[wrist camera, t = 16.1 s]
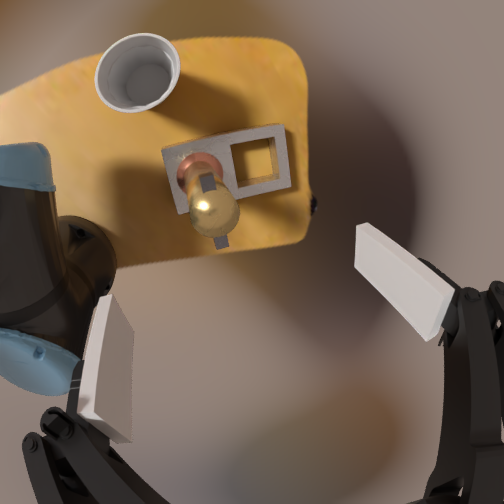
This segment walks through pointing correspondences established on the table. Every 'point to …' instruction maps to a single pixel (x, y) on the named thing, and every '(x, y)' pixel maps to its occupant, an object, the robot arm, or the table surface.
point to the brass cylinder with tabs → (210, 203)
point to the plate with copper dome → (227, 162)
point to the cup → (137, 73)
